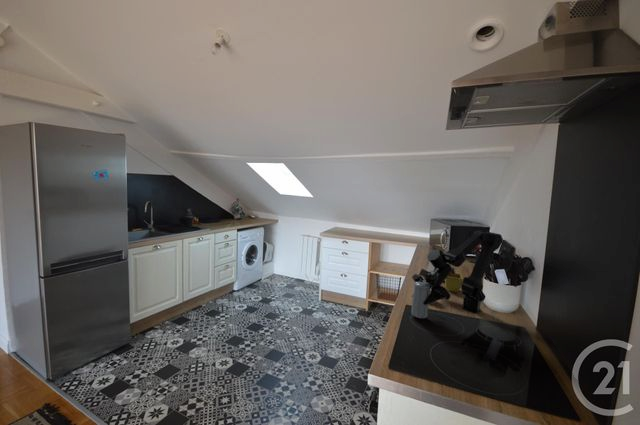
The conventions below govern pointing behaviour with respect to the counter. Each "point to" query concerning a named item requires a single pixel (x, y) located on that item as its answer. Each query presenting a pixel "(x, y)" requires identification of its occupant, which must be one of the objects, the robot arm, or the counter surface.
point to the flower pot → (453, 282)
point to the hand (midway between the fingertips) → (418, 300)
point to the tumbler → (420, 299)
